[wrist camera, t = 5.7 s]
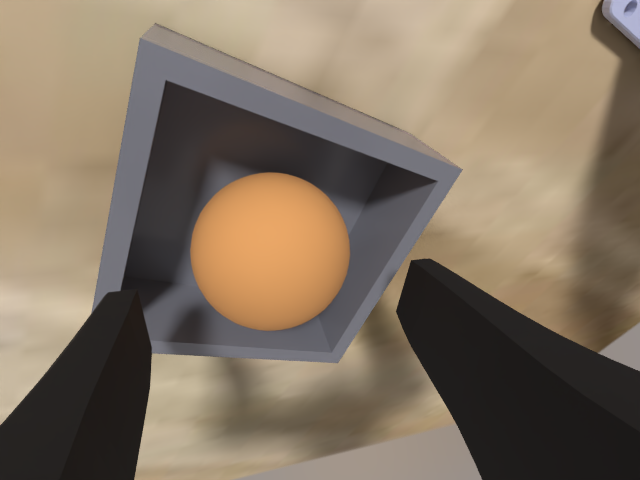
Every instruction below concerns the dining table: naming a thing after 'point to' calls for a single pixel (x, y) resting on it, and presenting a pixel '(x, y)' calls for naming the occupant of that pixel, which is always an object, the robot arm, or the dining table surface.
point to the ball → (270, 251)
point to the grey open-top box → (243, 160)
